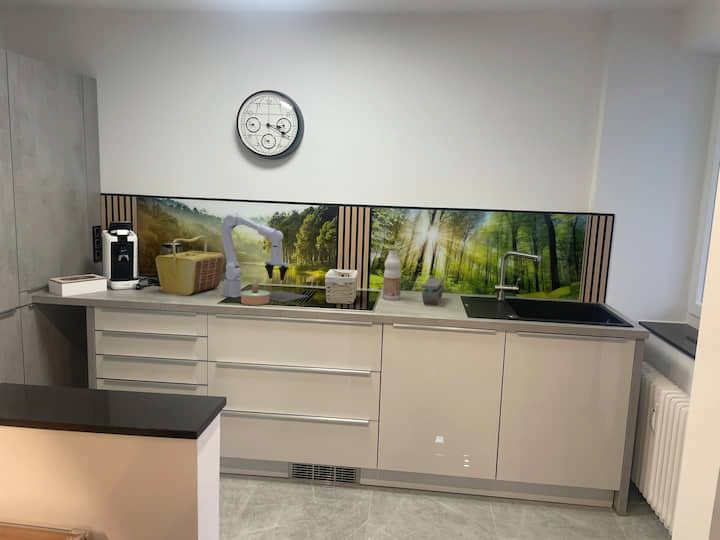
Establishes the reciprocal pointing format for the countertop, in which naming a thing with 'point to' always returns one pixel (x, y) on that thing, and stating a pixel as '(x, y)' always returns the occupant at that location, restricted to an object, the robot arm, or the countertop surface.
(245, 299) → the bowl
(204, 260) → the picnic basket
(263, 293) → the lid
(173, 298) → the countertop surface
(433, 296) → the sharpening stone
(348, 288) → the storage basket
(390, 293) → the fruit juice
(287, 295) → the rubber mat
